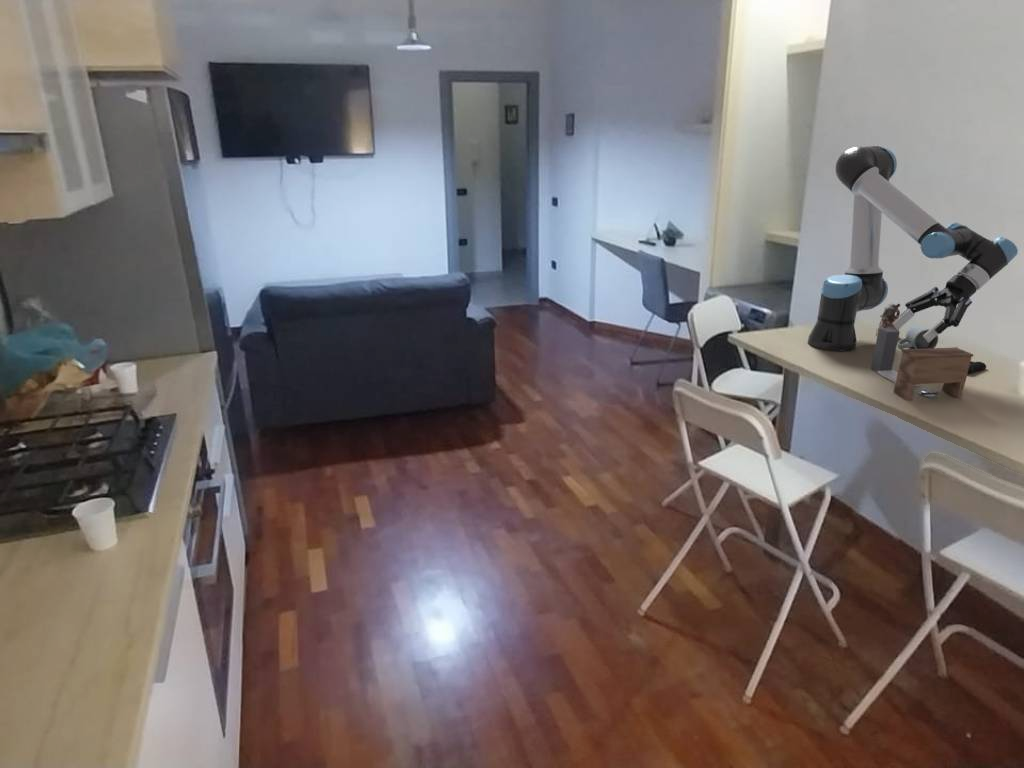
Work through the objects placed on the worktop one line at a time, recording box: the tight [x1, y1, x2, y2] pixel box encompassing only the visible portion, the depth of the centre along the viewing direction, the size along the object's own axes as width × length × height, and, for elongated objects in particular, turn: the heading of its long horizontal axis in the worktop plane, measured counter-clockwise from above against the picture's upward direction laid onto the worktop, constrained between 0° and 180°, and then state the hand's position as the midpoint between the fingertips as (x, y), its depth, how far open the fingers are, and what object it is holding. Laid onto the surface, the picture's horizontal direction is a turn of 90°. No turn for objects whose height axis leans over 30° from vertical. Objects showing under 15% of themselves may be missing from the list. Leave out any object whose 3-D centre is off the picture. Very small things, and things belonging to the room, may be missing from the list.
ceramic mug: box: [897, 325, 939, 349], centre depth 229 cm, size 11×8×8 cm
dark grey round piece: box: [917, 388, 938, 399], centre depth 189 cm, size 4×4×1 cm
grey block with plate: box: [870, 328, 921, 388], centre depth 200 cm, size 16×5×13 cm, turn 7°
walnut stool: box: [893, 347, 974, 401], centre depth 187 cm, size 6×16×13 cm, turn 97°
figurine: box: [875, 302, 901, 337], centre depth 241 cm, size 7×7×12 cm
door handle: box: [967, 360, 987, 375], centre depth 215 cm, size 3×20×16 cm
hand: (909, 332), depth 204 cm, fingers open, 13 cm apart
